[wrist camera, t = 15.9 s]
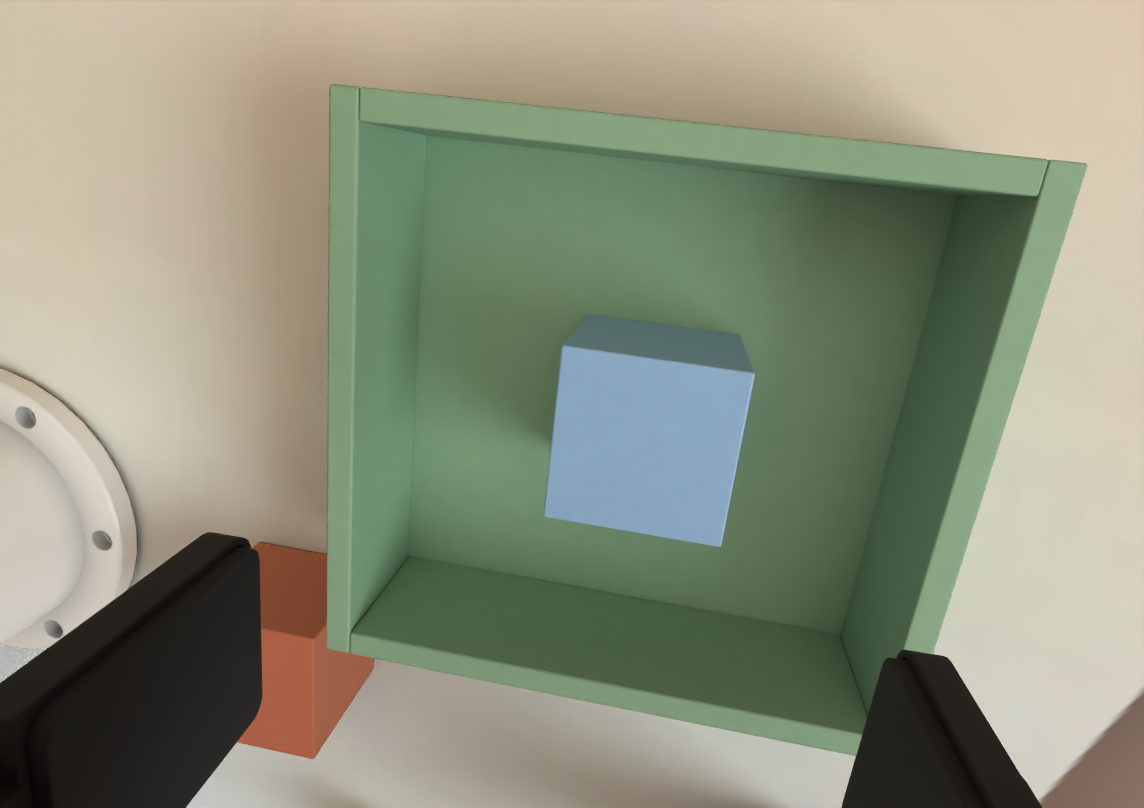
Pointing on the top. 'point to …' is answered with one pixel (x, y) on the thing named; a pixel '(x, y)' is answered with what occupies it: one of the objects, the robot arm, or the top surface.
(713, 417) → the blue block
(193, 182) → the top surface
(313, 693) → the terracotta block
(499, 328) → the toy bin
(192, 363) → the top surface
